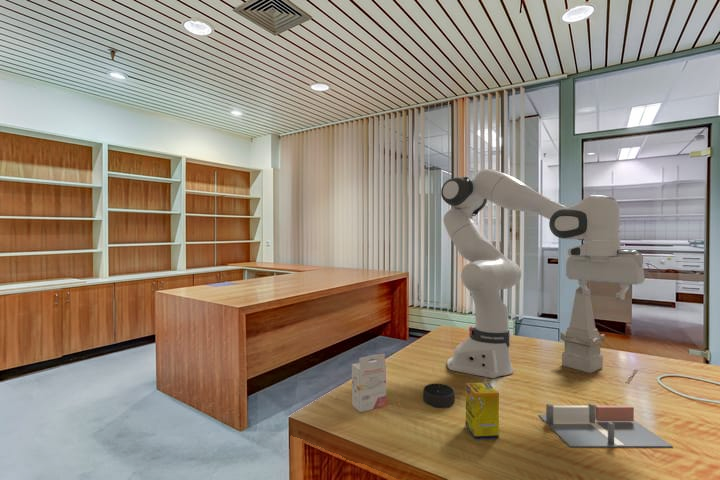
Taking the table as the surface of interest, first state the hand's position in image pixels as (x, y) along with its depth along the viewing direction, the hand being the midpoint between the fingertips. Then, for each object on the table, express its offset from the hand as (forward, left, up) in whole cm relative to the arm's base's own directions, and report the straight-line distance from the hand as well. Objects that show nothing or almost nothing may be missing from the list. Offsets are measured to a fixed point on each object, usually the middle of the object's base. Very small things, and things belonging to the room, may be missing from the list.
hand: (602, 297), depth 107 cm
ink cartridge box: (-63, -28, -30) cm, 75 cm away
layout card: (-6, -22, -29) cm, 37 cm away
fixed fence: (-10, -24, -29) cm, 40 cm away
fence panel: (-1, -17, -29) cm, 33 cm away
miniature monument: (0, +28, -30) cm, 40 cm away
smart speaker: (-45, -19, -30) cm, 57 cm away
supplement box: (-33, -32, -30) cm, 55 cm away
